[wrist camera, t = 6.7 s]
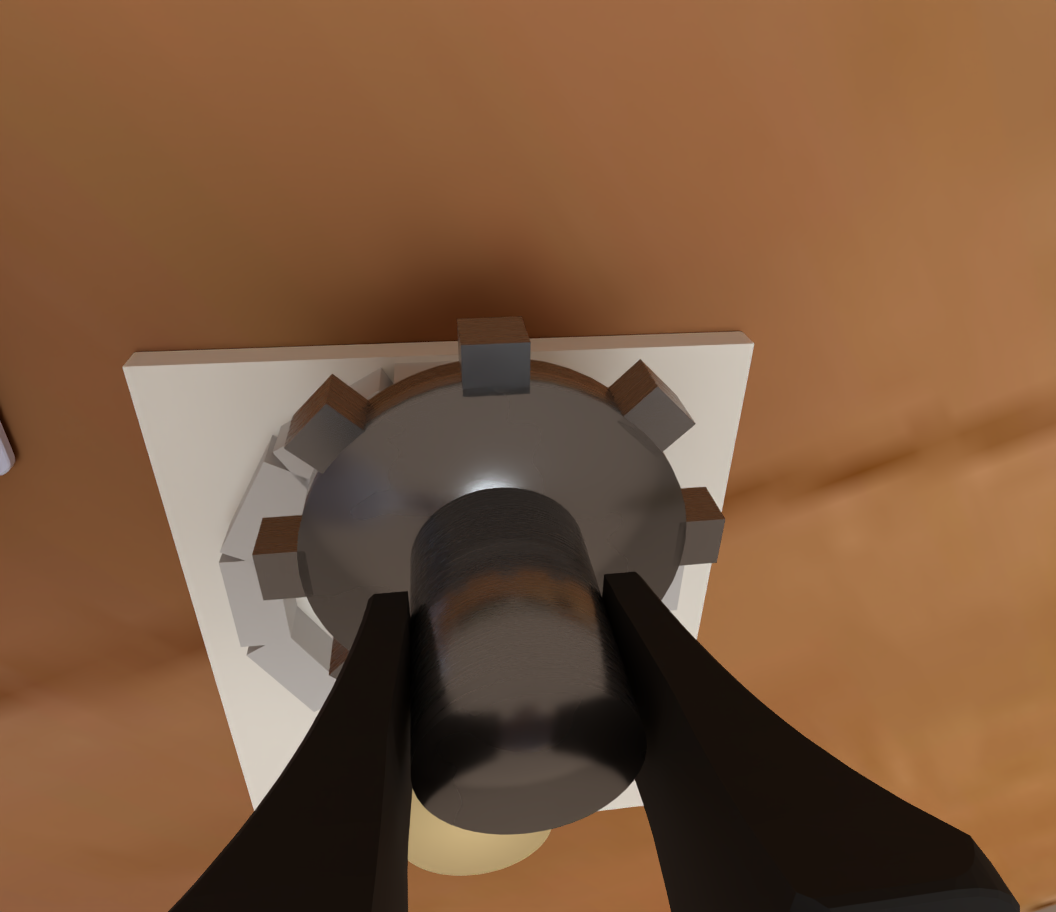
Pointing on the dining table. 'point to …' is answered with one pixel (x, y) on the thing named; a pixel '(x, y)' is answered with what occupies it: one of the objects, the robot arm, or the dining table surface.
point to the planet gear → (496, 563)
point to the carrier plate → (278, 383)
